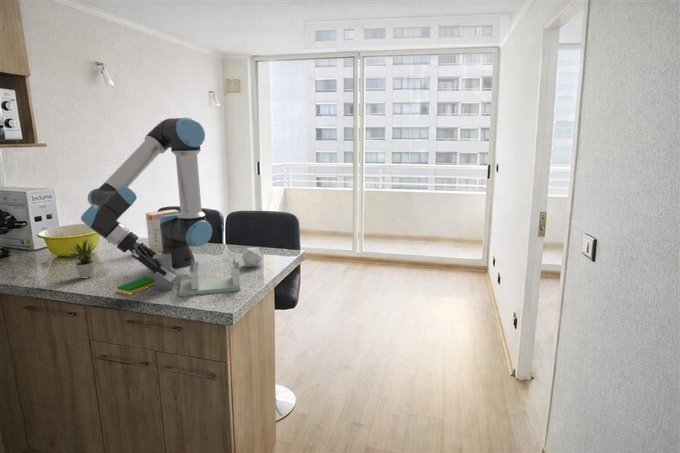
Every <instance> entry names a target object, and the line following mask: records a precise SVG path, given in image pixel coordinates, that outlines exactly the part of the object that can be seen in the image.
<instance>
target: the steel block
mask: <svg viewBox="0 0 680 453" xmlns="http://www.w3.org/2000/svg"><path fill="white" fill-rule="evenodd" d="M152 260H154V261H155V262H156V263H157V264H158V265H160V266H162V267H164V268H165V269H166V270H168V271H169V272H170V273H172V274H173V271H172V261H171V253H168V254H161V253H156V254H155V255H154V256H153V258H152ZM153 278H154V281H155V285H154V289H155V290H154V291H155V292H156V291H158V292H164V291H163V290H169V291H173V289H174V286H175V284H174V283H175V282H174V279H173V280H172V281H171V282H170V281H168V280H167V279H165V278H164V277H163V276H161V275H160V274H159V273H157V272H156V273H153Z"/></svg>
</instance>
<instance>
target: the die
mask: <svg viewBox="0 0 680 453" xmlns="http://www.w3.org/2000/svg"><path fill="white" fill-rule="evenodd" d="M241 259H242V261H243V263H244V265H245V267H247V268H251V267H252V268H255V267H256V268H258V267H259V265H260V264H261V262H262V260H263V255H262V253H261V251H260V249H259V247H246V248H245V250H244V251H243V253H242V255H241Z"/></svg>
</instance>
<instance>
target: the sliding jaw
mask: <svg viewBox="0 0 680 453" xmlns="http://www.w3.org/2000/svg"><path fill="white" fill-rule="evenodd" d="M189 273H190V275H189V276H190V280H191V288H192V290H193V289H199V282H200V279H201V278H200V277H201V276H200V263H199V261H196V259H195V258H194V259H192V260H191V265H189Z"/></svg>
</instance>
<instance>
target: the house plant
mask: <svg viewBox="0 0 680 453" xmlns="http://www.w3.org/2000/svg"><path fill="white" fill-rule="evenodd" d="M66 243H68V244H70V245H72V246H73V248H74V250H75V251H74V250H73V248H71V247H69V246H68V247H66V249H68V250H71V251H70V252H69V253H65V255H67V256H66V257H67V258H68V261H70V262H72V261H74V260H77V262H76V263H75V268H76V271H77V273H78V277H79V278H80V277H81V278H83V277H91V276H93V275H94V276H95V263H96V262H95V260H92V259H94V256H93V255H94V254H96V253H97V251H96V252H94V253H92V251H93V249H94V248H95V247H96V246H97V245H98V244H95V245H94V246H93V241H92V242H91V241H89V242H88V238H86V239H83V242H82V246H80V244H78V242H75V244H74V243H72V242H66ZM87 245H88V246H87ZM72 251H73V252H72ZM91 253H92V254H91ZM72 256H73V257H72ZM92 256H93V257H92ZM70 257H71V258H70ZM94 276H93V277H94ZM91 278H92V277H91Z"/></svg>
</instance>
